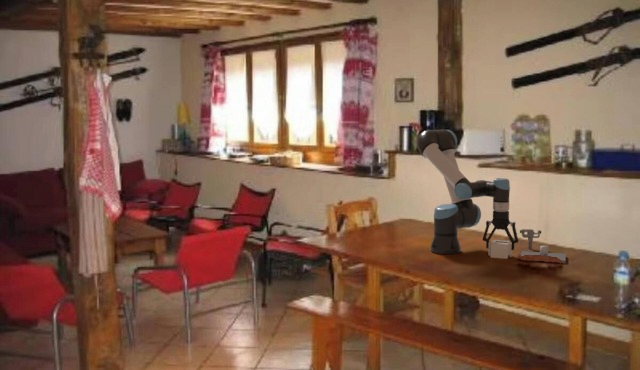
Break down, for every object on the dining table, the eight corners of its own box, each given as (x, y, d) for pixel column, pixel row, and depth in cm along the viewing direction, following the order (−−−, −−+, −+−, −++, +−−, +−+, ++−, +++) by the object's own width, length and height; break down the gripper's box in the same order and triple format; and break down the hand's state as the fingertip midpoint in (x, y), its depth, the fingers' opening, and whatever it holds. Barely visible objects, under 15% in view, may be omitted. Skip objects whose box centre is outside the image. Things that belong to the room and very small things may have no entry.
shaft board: (520, 260, 304) (520, 248, 303) (522, 254, 317) (522, 242, 316) (565, 263, 297) (565, 251, 296) (565, 256, 310) (566, 244, 309)
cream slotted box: (490, 257, 311) (490, 242, 310) (492, 253, 318) (492, 239, 317) (507, 258, 308) (507, 243, 307) (509, 254, 315) (509, 240, 314)
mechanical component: (541, 250, 324) (541, 230, 323) (519, 249, 326) (520, 230, 325) (540, 248, 327) (540, 229, 326) (519, 248, 329) (519, 229, 328)
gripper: (476, 210, 310) (476, 255, 313) (524, 212, 302) (523, 259, 305) (478, 208, 317) (478, 252, 320) (525, 210, 309) (524, 255, 312)
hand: (499, 255), depth 313 cm, fingers open, 9 cm apart
